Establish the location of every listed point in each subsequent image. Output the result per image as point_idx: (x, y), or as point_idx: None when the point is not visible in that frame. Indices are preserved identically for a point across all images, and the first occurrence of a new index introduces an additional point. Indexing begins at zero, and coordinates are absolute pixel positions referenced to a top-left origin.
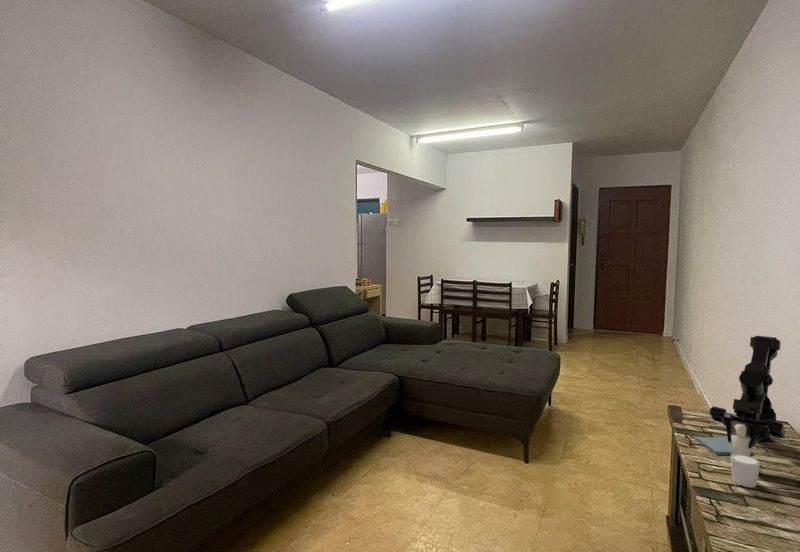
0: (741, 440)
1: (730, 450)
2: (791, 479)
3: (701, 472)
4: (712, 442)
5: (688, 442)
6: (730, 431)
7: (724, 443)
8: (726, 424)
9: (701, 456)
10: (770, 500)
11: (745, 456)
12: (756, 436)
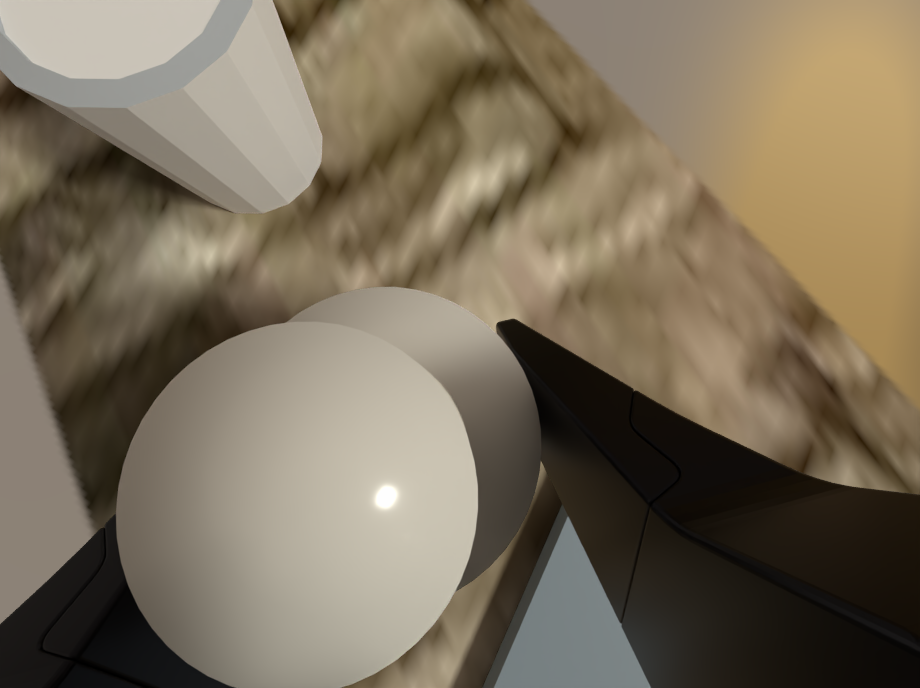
0: (310, 311)
1: (582, 552)
2: (98, 509)
3: (466, 25)
4: None
5: (859, 417)
6: (564, 404)
7: None
8: (760, 468)
9: (631, 258)
10: None
11: (151, 62)
12: (76, 563)
